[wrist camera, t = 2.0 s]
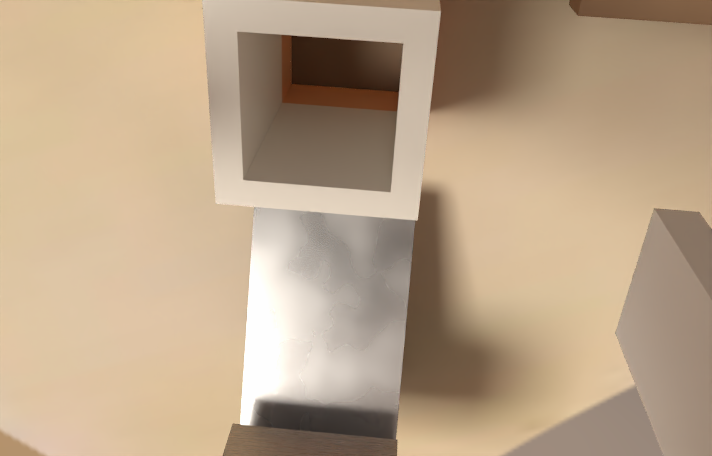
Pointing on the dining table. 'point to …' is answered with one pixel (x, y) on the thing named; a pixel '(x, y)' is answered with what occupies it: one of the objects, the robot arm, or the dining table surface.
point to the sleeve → (317, 108)
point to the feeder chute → (324, 335)
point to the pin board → (647, 10)
